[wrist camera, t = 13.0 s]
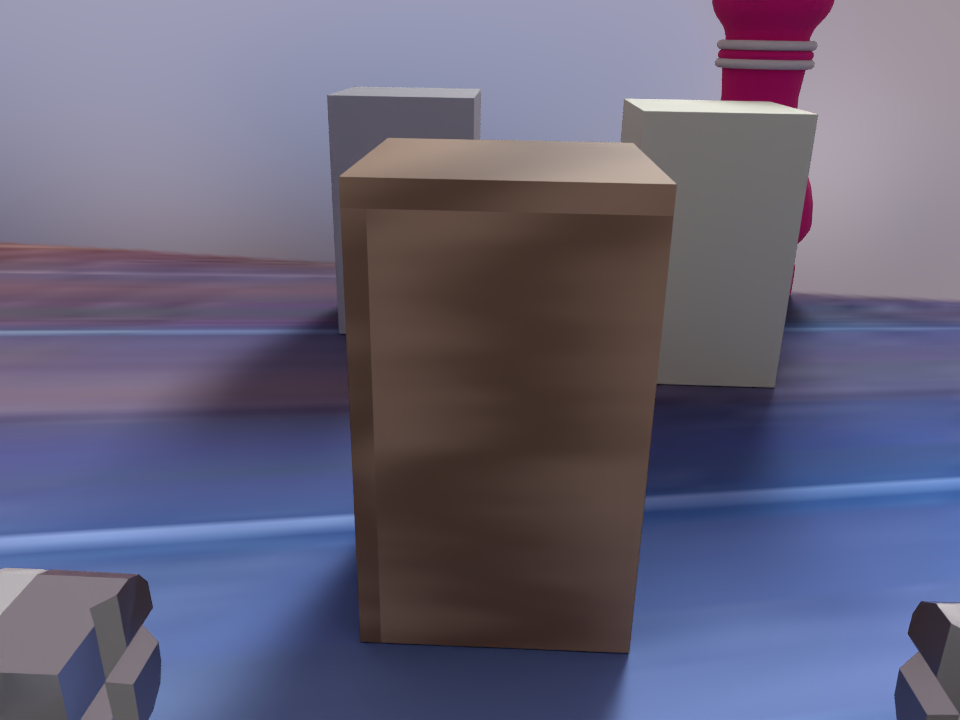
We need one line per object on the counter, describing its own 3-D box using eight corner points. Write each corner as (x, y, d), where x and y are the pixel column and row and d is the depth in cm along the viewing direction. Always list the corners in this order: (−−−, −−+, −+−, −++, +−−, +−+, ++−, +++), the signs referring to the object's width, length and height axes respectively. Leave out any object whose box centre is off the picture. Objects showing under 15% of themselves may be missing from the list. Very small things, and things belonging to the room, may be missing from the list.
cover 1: (338, 333, 40) (327, 95, 36) (362, 294, 46) (354, 86, 42) (471, 337, 40) (474, 98, 36) (477, 298, 46) (480, 88, 42)
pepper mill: (656, 295, 47) (696, -108, 39) (686, 266, 53) (725, -88, 45) (791, 315, 44) (860, -116, 36) (806, 282, 50) (868, -94, 42)
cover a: (360, 641, 20) (338, 176, 16) (396, 501, 26) (387, 137, 22) (629, 652, 20) (676, 184, 16) (603, 509, 26) (633, 142, 22)
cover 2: (620, 382, 35) (643, 111, 31) (606, 332, 41) (623, 98, 37) (774, 387, 35) (818, 114, 31) (737, 335, 41) (769, 101, 37)
